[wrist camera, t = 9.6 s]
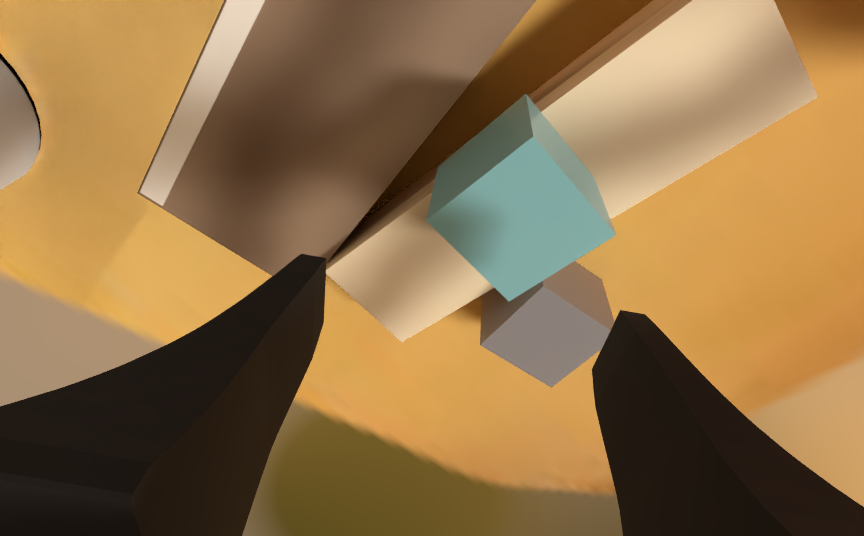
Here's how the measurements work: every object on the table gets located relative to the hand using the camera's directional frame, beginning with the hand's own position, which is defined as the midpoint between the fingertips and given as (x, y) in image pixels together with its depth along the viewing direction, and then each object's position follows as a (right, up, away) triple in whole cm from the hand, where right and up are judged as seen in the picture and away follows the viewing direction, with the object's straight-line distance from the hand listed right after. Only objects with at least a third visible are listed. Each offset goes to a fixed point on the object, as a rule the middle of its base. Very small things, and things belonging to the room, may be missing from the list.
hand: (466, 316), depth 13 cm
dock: (-4, +10, +7) cm, 12 cm away
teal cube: (+2, +5, +6) cm, 8 cm away
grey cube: (+3, 0, +10) cm, 10 cm away
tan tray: (+3, +6, +9) cm, 11 cm away
